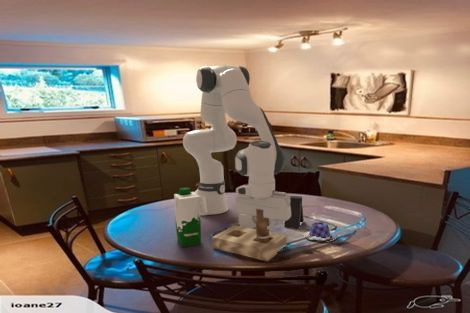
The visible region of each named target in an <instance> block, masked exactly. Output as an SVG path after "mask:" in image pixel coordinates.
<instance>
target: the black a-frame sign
mask: <svg viewBox="0 0 470 313" xmlns="http://www.w3.org/2000/svg"><path fill="white" fill-rule="evenodd" d="M289 196H290V207H291V217H290V218H289V219H288V220H287V221H284V228H290V229H298V228H299V227H300V228H301V226H302V225H300V222H303V221H304V222H305V220H304V219H305V217H304V209H303V196H300V195H299V196H298V195H289ZM304 222H303V223H304ZM300 228H299V229H300Z"/></svg>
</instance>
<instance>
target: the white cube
mask: <svg viewBox="0 0 470 313" xmlns="http://www.w3.org/2000/svg"><path fill="white" fill-rule="evenodd" d="M237 216H238V225H239V224H240V226H241V227H246V228H251V229H254V228H253V225H252V222H251V220H250V218H249V215H246V214H240V213H237ZM255 219H256V217H255Z"/></svg>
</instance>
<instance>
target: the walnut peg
mask: <svg viewBox="0 0 470 313" xmlns="http://www.w3.org/2000/svg"><path fill="white" fill-rule="evenodd" d="M269 224H270V219H269V218H264V216H263V210H260V209H256V228H255V229H256V237H257V238H258V242H262V243H268V238H269V237H270V234H269V232H270V231H268V230H267V225H269Z"/></svg>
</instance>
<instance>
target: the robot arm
mask: <svg viewBox="0 0 470 313" xmlns="http://www.w3.org/2000/svg"><path fill="white" fill-rule="evenodd" d="M195 80H196V85H197V88H198V89H199V90H200V91H201V92H202V93H201V103H200V114H199V115H200V118H201V120H202V121H203V122H205V123H206V124H208V125H210V126H211V127H210V128H207V129H206V128H205V129H194V130H191V131H187V132H186V133H185V134H184V136H183V139H182V145H183V148H184V149H185V152H187V153H188V154H190V155H191V156H193V158H194V160H196V163H197V166H198V169H199V170H198V171H199V177H200V178H199V179H200V181H199V182H197V183H196V185H195V186H196V187H197V186H198V187H197V189H196V190H195V191H194V192H195V193H196V194H198V196H200V216H208V215H210V216H211V215H219V214H223V213H226V212H228V210H229V207H228V204H227V200H226V194H225V192H226V186H225V185H226V183H225V179H224V165H223V164H222V162H221V161H219V160H217V159H214V158H213V157H212V153H220V152H227V151H230V150H233V149H234V148H235V147H236V145H237V139H238V138H237V135H236V132H235V131H234V130H233V129H232V128H230V126H229V124H228V123H227V120H226V115H227V116H228V117H229V118H230V119H232V120H235V121H237V122H240V123H245V124H247V125H249V126H251V127H253V128H254V129H256V131H257V133H258V136H259V138H260V140H254V141H250V142H249V144H248V147H245V148H244V149H239V151H238V152H236V153H235V154H236V155H235V156H234V169H235V171H236V172H237V173H238V174H239V175H241V176H245V177H248V183H246V184H243V185H240V186H238V187H236V188H235V193H236V195H235V199H234V210H235V212H236V213H237V214H238V213H240V214H246V215H249V218H250V220H251V222H252V225H253V228H252V229H256V219H255V217H256V209H260V210H263V216H264V218H269V225H267V230H268V231H269V232H272V231H273V230H274V226H275V223H276V222H277V221H282V222H285V221H287V220H288V219H289V218H290V217H291V207H290V196H291V195H289V194H288V193H287V192H284V191H277V190H276V179H275V175H278V174H280V173H281V171H282V170H283V169H284V167H285V166H286V162H287V160H286V155H285V152H284V151H283V150H282V147H281V146H280V144H279V143H278V140H277V138H276V135H275V134H274V131H273V129H272V126H271V124H270V121H269V119H268V117H267V115H266V113H265V111H264V110H263V108H261V106H258V104H256V102H255V101H254V99H253V97H252V95H251V91H250V87H249V85H250V80H251V79H250V72H249V70H248V69H247V68H246V67H244V66H241V65H230V64H222V65H219V64H218V65H204V66H201V67H199V69H198V70H197V73H196V77H195Z"/></svg>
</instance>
